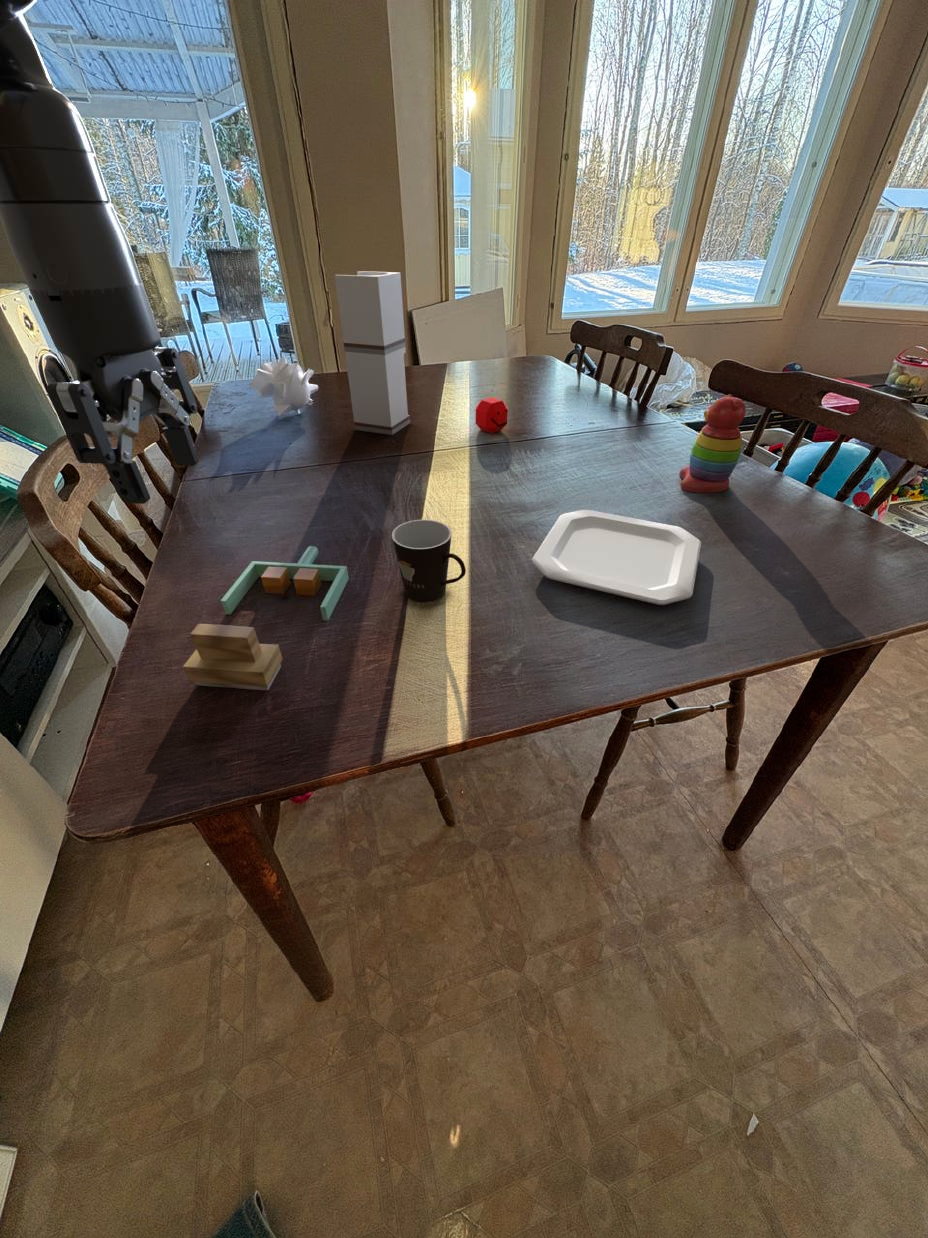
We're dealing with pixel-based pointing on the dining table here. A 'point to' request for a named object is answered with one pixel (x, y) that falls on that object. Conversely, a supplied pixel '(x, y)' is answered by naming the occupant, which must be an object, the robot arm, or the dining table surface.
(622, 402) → the dining table surface
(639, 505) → the dining table surface
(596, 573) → the plate
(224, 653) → the stepped wooden block
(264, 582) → the crumb
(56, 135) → the robot arm
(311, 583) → the crumb
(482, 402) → the ball
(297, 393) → the white spiky ornament
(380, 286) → the white banded pillar
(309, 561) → the green u-shaped pusher
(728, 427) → the stacking bear
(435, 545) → the coffee mug
